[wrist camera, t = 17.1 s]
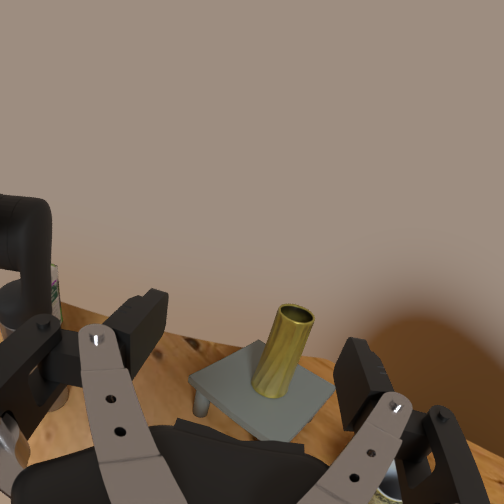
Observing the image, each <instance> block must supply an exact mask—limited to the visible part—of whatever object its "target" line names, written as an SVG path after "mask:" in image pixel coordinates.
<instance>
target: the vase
mask: <svg viewBox="0 0 504 504" xmlns="http://www.w3.org/2000/svg"><path fill="white" fill-rule="evenodd" d="M314 321H315V317H314V315H313V314H312V313H311V312H310V311H309V310H308V309H306V308H304V307H301V306H299V305H295V304H283V305H281V306H280V307H279V308H278V311H277V314H276V317H275V320H274V323H273V326H272V329H271V332H270V335H269V337H268V340H267V343H266V345H265V348H264V351H263V353H262V356H261V358H260V361H259V363H258V366H257V368H256V371H255V373H254V375H253V377H252V380H251V384H252V387H253V389H254V390H255V391H256V392H257V393H258V394H260V395H262V396H264V397H267V398H273V399H275V398H280V397H282V396H284V395H285V394H286V393H287V391H288V387H289V384H290V382H291V380H292V377H293V375H294V372H295V369H296V367H297V365H298V362H299V360H300V357H301V355H302V352H303V349H304V347H305V344H306V341H307V339H308V336H309V333H310V331H311V328H312V326H313V324H314Z"/></svg>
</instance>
